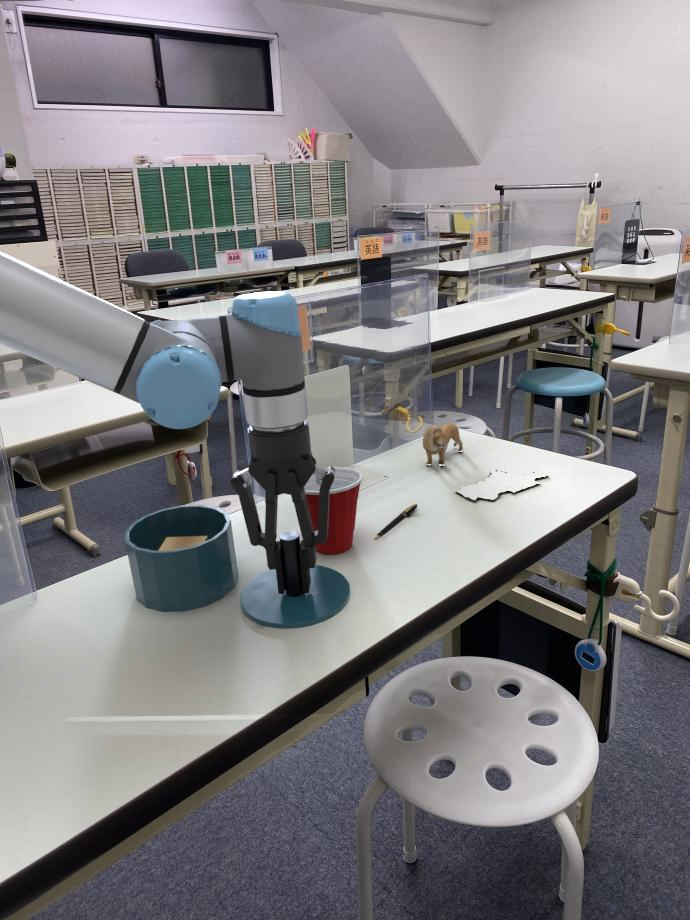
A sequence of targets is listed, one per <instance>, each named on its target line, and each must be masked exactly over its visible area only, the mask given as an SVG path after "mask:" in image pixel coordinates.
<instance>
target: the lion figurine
mask: <svg viewBox="0 0 690 920" xmlns="http://www.w3.org/2000/svg"><path fill="white" fill-rule="evenodd" d="M422 435H423V438H422V448H423V449H424V450H425V453H426V454H425V455H426V457H427V458H426V459H427V461H426V462H425V465H426V464H432V465H433V456H435V455H438V465H439V464H442V465H443V464H444V463H445V454H446V451H447V449H448V445H449V443H450V441H451V440H452V441H453V442H454V443H453V447H458V449H457V450H458V451H461V450H463V451H464V447H463V445H464V444H463V441H462V439H461V437H460V429H459V427H458V426H457V425H456V424H455V423H452V422H451V423H445V424H443V425H442V426H438V425H436V424H433V425H429V426H427V428H425V430H424V431H423V434H422ZM457 445H458V446H457Z"/></svg>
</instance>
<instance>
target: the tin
mask: <svg viewBox="0 0 690 920" xmlns="http://www.w3.org/2000/svg"><path fill="white" fill-rule="evenodd" d="M123 534H124V543H125V549H126V553H127V556H128V557H127V558H128V562H129V568H130V573H131V579H132V582H133V587H134V592H135V598H136V600H137V602H139V603H140V604H141V605H142V606H143V607H144V608H146V609H148V610H149V609H150V610H153V611H157V612H161V613H183V612H187V611H192V610H197V609H201V608H204V607H207V606H209V605H211V604H214V603H215V602H218V601H219V600H222V599H224V598H225V597H226V596H227V595H228V594H229V593H230V592H231V591H232V590H234V589H235V587H236V585H237V583H238V579H239V570H238V564H237V563H238V562H237V556H236V549H235V548H236V547H235V541H234V533H233V526H232V520H231V518H230V516H229V514H228V513H227V511H225V510H223V509H221V508H219V507H217V506H210V505H205V504H187V505H186V504H185V505H184V504H182V505H178V506H171V507H167V508H162V509H159V510H156V511H154V512H152V513H148V514H146V515H144V516H141V517H140V518H139V519H138V520H136V521H134V522H133V523H131V524H130V526H129V527H128V528H127V530H126V531H125V532H124V533H123ZM185 536H208V540H207V541H205V542H202V543H200V544H198V545H195V546H192V547H187V548H182V549H177V550H166V551H158V550H159V549H160V547H161V545H162V544H163V542H164V541H165V539H166V537H185Z"/></svg>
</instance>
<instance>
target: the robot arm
mask: <svg viewBox="0 0 690 920" xmlns="http://www.w3.org/2000/svg"><path fill="white" fill-rule="evenodd" d="M231 305H232V309H231V313H227V314H225V315H219V316H210V317H208V316H207V317H197V318H196V317H195V318H185V319H173V320H162V319H158V320H156V319H155V320H154V321H152V322H149V321H147V320H145V319H144V318H142V317H140V316H138V315H136V314H133V313H132V312H130V311H127V310H125V309H123V308H121V307H119V306H116V305H114V304H113V303H110V302H108V301H106V300H104V299H102V298H99V297H98V296H96V295H93V294H91V293H89V292H87V291H85V290H82V289H81V288H78V287H76V286H74V285H73V284H70V283H68V282H66V281H63V280H62V279H59V278H58V277H55V276H53V275H52V274H51V275H50V274H49V273H47V272H44V271H42V270H40V269H38V268H36V267H34V266H32V265H30V264H27V263H25V262H23V261H22V260H19V259H17V258H15V257H13V256H12V255H11V256H10V255H8V254H6V253H4V252H1V251H0V345H2V346H5V347H6V348H9V349H11V350H14V351H16V352H18V353H21V354H23V355H25V356H28V357H30V358H32V359H35V360H38V361H39V362H42V363H44V364H47V365H48V366H51V367H54V368H56V369H58V370H61V371H63V372H66V373H68V374H71V375H72V376H75V377H77V378H79V379H82V380H84V381H87V382H88V383H92V384H93V385H96V386H98V387H101V388H103V389H105V390H107V391H110V392H113V393H115V394H118V395H120V396H122V397H124V398H126V399H129V400H131V401H133V402H136V403H137V404H140V407H141V408H142V410H143V411H144V414H146V415H147V416H148V417H149V418H150V419H151V420H152V421H154V423H156V424H158V425H160V426H163V427H165V428H168V429H171V430H172V429H174V430H184V429H190V428H194V427H196V426H199V425H200V424H202V423H203V422H205V421H207V419H209V417H210V416H211V415H212V414H213V412H214V411H215V409H216V408H217V407H218V403H219V400H220V396H221V388H222V385H223V382H224V383H225V382H233V381H237V380H240V381H241V384H242V385H241V386H242V396H243V404H244V414H245V422H246V424H248V425H249V426H248V427H247V437H248V438H247V439H248V445H249V446H248V447H249V455H250V461H249V464H248V465H247V468H245V469H242V470H239V469H238V470H235V471H234V473H233V475H232V477H231V479H230V485H231V486H232V488H233V489H234V490H235V492H236V494H237V496H238V499H239V502H240V507H241V511H242V514H243V519H244V523H245V527H246V531H247V535H248V539H249V543H250V545H251V546H253V547H257V546H261V547H263V548H264V549H265V556H266V562H267V563H266V564H267V568H268V569H269V570H275V569H276V576H277V584H278V593H279V594H284V592H285V582H284V573H283V564H282V555H281V546H280V540H277V537H278V534H277V533H278V531H277V530H278V504H279V503H278V502H279V495H280V496H281V495H288V496H290V497H291V501H292V503H293V506H294V509H295V510H294V511H295V514H296V518H297V521H298V527H299V530H300V534H301V538H302V539H300V548H299V556H300V566H301V576H302V586H303V593H309V589H310V584H311V579H310V569H309V568H315V565H317V551H316V547H315V546H316V545H317V544H319V543H321V544H324V543H326V541H327V535H328V522H329V498H330V488H331V485H332V483H333V481H334V477H335V469H334V468H333V467H334V466H328V467H325V466H323V465H320V464H317V460H316V459H315V457H314V456H313V454H312V445H311V436H310V423H309V422H308V421H307V419H308V417H309V411H308V410H309V409H308V401H307V392H306V391H307V390H306V381H305V368H304V367H305V366H304V353H303V337H302V335H303V332H302V329H301V323H300V316H299V310H298V302H297V299H296V298H295V297H294V296H293V295H292V294H290V293H288V292H285V291H275V290H274V291H258V292H253V293H244V294H240V295H237V296H236V297H234V298H233V300H232V303H231ZM312 474H315V475H316V482H317V483H318V484H319V485H321V486H320V491H319V510H318V530H317V531H315V532H314V529H313V525H312V521H311V517H310V512H309V508H308V504H307V500H306V496H305V488H304V486H305V485H306V483H307V482H308V480H309V479H310V477H311V476H312ZM252 478H253V479H254V480H255V482H256V483H257V484H259V486H260V487H261V488H262V489H263V490H264V492H265V496H264V497H265V498H264V501H265V502H264V503H265V511H264V512H265V513H264V514H265V516H264V517H265V518H264V532H263V530H262V525H261V521H260V517H259V513H258V509H257V504H256V500H255V496H254V492H253V488H252V483H253V479H252Z"/></svg>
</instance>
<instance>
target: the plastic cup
mask: <svg viewBox="0 0 690 920" xmlns="http://www.w3.org/2000/svg"><path fill="white" fill-rule="evenodd" d="M332 467H333V468H334V469H335V477H334V481H333V483H332V485H331V488H330V498H329V522H328V535H327V541H326V543H324V544H321V543H319V544H317V545H316V546H315V547H316V553H319V554H321V555H327V556H333V555H340V554H344V553H345V552H347V551H349V550H350V549H351V547H352V546H353V542H354V541H353V540H354V532H355V529H356V528H355V527H356V518H357V509H358V508H357V507H358V499H359V495H360V494H359V493H360V489H361V488H360V487H361V484H362V482H363V479H364V475H363V474H364V473H363V472H362V471H360V470H358V469H356V468H351V467H343V466H342V467H340V466H332ZM320 486H321V485H319V484H318V483H317V482H316V475H315V474H312V476H311V477H310V479H309V480H308V482H307V483H306V485H305V486H304V488H305V496H306V500H307V504H308V508H309V512H310V517H311V521H312V525H313V529H314V532H315V531H317V530H318V510H319V491H320Z"/></svg>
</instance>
